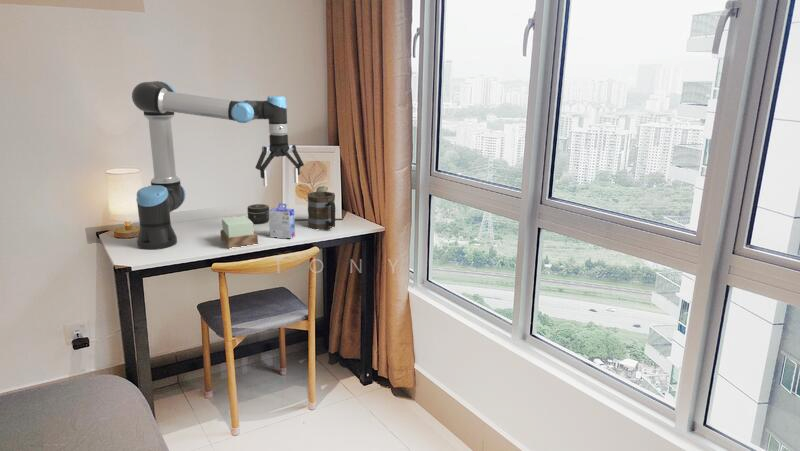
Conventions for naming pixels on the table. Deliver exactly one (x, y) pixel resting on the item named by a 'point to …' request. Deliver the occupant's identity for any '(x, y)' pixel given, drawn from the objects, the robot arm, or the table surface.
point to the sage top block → (237, 226)
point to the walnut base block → (239, 240)
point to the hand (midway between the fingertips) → (280, 184)
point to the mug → (321, 210)
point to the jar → (258, 213)
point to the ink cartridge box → (282, 222)
